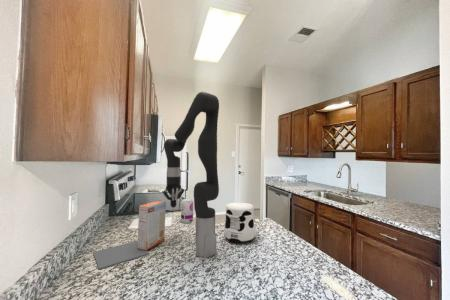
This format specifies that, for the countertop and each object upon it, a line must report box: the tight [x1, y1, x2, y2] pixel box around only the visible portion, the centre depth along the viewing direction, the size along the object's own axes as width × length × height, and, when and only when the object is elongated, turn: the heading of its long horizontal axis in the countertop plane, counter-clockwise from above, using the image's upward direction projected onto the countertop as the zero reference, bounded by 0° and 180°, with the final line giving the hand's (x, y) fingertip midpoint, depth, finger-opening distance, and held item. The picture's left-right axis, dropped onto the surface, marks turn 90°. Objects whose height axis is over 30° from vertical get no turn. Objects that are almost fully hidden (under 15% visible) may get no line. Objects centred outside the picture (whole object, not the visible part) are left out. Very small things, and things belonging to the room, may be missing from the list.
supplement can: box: [180, 198, 194, 224], centre depth 141 cm, size 8×8×15 cm
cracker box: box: [137, 200, 167, 251], centre depth 105 cm, size 14×6×21 cm, turn 159°
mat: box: [92, 240, 150, 271], centre depth 95 cm, size 18×20×1 cm
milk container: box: [223, 201, 257, 243], centre depth 113 cm, size 17×17×18 cm
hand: (173, 207), depth 112 cm, fingers closed
